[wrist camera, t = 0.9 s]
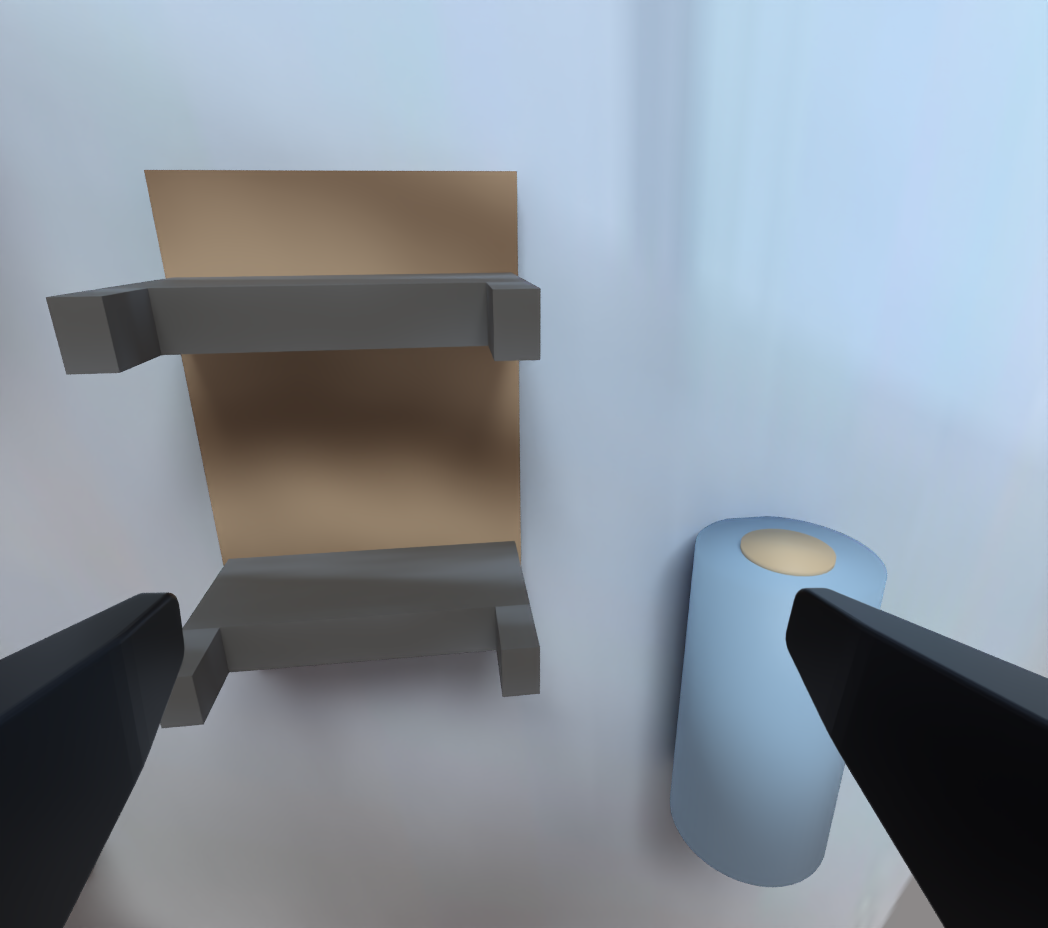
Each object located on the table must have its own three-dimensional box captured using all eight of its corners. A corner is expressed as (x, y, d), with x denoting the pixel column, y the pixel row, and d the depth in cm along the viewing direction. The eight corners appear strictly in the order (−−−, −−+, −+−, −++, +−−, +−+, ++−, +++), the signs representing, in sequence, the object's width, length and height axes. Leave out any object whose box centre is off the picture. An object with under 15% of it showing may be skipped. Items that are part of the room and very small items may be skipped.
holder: (518, 626, 24) (546, 771, 18) (251, 647, 23) (175, 810, 16) (512, 174, 18) (550, 141, 12) (160, 173, 17) (-11, 136, 11)
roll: (777, 753, 28) (859, 879, 23) (650, 767, 28) (702, 900, 22) (820, 507, 24) (934, 588, 18) (671, 516, 23) (743, 603, 18)
